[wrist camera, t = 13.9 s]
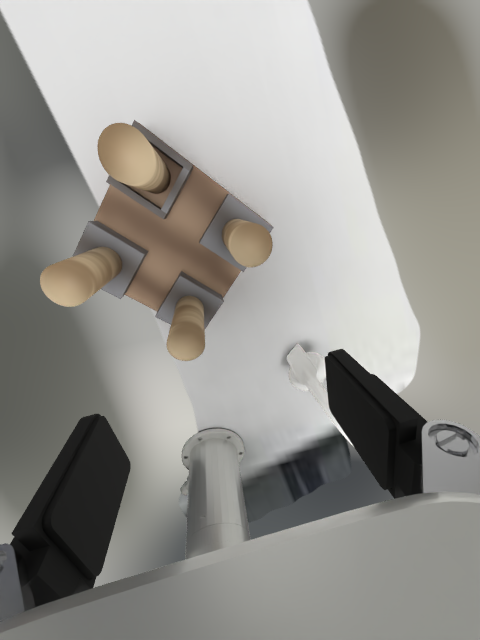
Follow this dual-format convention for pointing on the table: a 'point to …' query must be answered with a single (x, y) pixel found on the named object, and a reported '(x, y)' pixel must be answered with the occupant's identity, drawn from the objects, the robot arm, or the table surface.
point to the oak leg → (132, 159)
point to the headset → (310, 377)
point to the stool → (165, 250)
